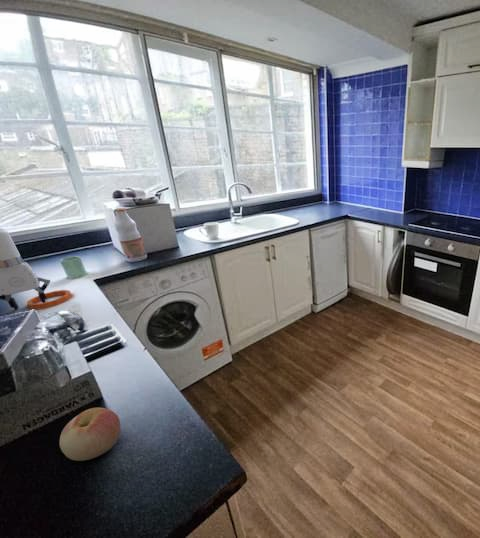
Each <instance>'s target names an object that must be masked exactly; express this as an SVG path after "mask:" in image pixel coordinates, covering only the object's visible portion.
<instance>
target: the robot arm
mask: <svg viewBox="0 0 480 538" xmlns="http://www.w3.org/2000/svg"><path fill="white" fill-rule="evenodd" d="M40 282H42V283H43V284H42V285H41V286H40ZM50 283H51V279H50V278H45V277H41V276H37V274H36V273H35V271H34V269H33V268H32V266H31V265H29V263H28V262H27V261H24V260H23V258H22V255H21V254H20V252H19V250H18V248H17V246H16V244H15V242H14V241H13V238H12V236H11V234H10V232H9V231H8V230H7V229H6V228H0V300H2V301H5V302H7V303H8V305H9V306H10V308H11V309H13V310H14V311H17V310H19V305H18V303H17V301H16V299H15V298H14V297H12V295H14V294H19V293H25V292H28V291H31V290H34V291H36V292H37V296H39V297H40V299H41V303H45V302H46V300H47V299H48V298H47V297H46V295H45V293H46V292H45V291H46V289H47V288H48V286H49V284H50Z"/></svg>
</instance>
